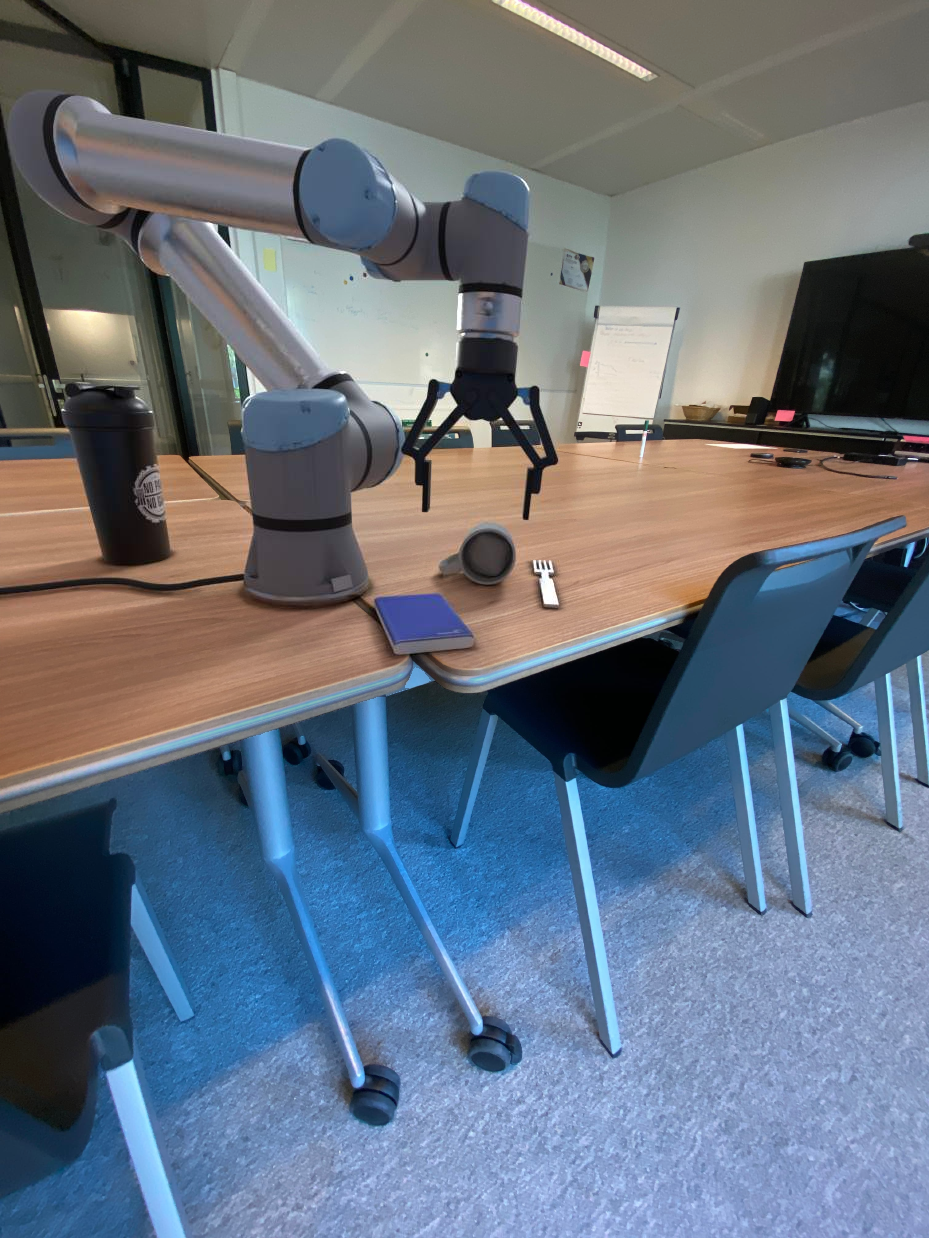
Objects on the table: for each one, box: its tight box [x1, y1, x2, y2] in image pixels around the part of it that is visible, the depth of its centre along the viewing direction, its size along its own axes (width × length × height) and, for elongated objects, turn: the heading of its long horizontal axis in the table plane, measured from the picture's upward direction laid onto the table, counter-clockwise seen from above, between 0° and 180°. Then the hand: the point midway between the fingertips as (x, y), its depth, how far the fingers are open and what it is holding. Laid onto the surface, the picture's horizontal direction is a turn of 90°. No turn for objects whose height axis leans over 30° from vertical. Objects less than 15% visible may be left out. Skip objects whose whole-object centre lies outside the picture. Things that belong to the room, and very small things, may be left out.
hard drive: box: [373, 592, 475, 655], centre depth 58 cm, size 2×8×12 cm
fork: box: [532, 559, 560, 609], centre depth 74 cm, size 3×19×1 cm, turn 176°
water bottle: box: [60, 381, 172, 566], centre depth 73 cm, size 10×10×23 cm
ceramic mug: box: [438, 521, 517, 586], centre depth 74 cm, size 11×8×8 cm
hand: (475, 514), depth 72 cm, fingers open, 13 cm apart
